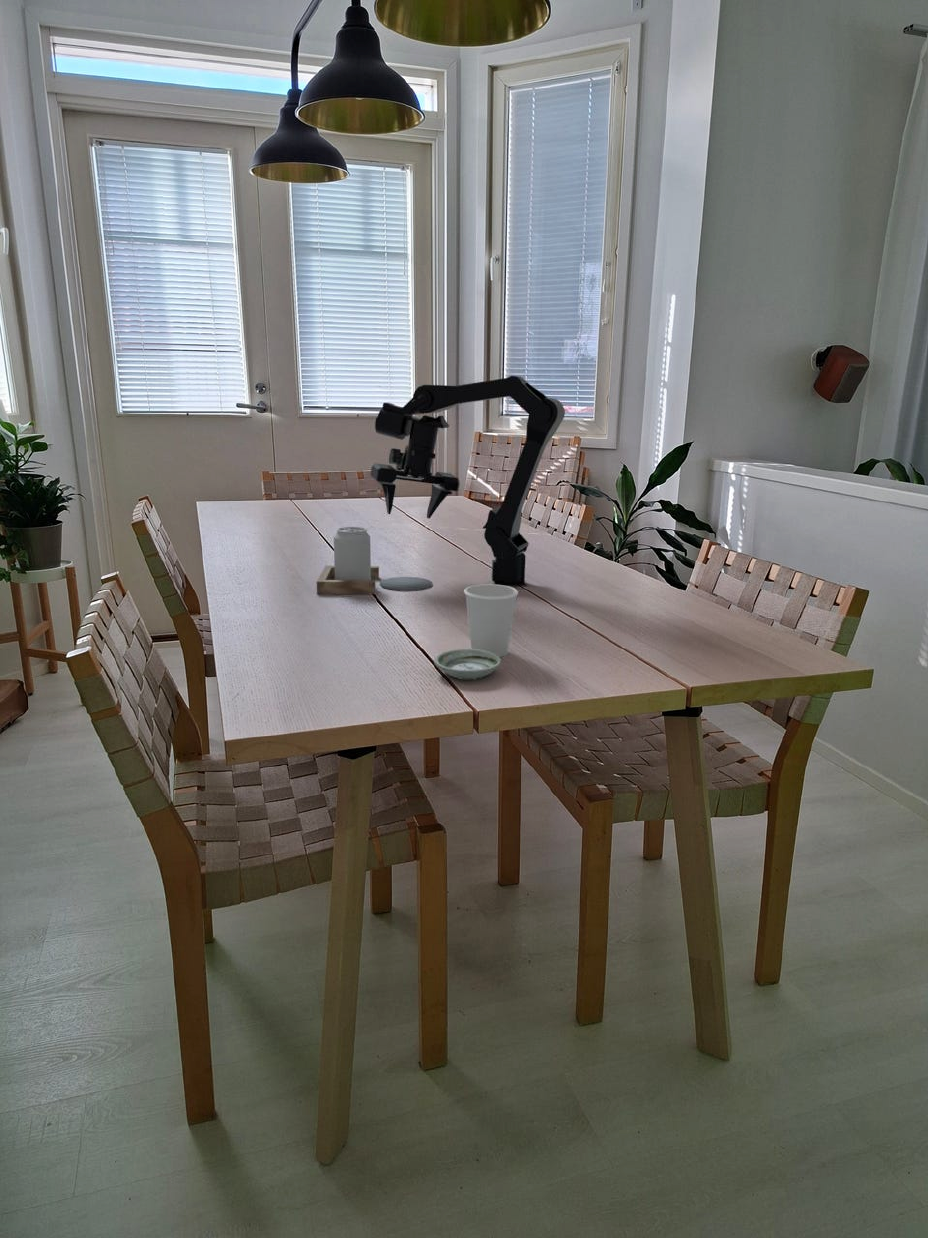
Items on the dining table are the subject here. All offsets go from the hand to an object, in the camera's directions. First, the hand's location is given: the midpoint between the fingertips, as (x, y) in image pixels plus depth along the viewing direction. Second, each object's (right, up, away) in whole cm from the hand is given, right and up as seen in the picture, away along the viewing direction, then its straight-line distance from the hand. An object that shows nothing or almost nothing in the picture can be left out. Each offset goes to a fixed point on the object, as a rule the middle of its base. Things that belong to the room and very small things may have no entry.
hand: (408, 515), depth 176 cm
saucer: (+13, -31, -59) cm, 68 cm away
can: (-11, -16, -8) cm, 21 cm away
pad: (0, -15, -7) cm, 17 cm away
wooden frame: (-11, -16, -8) cm, 21 cm away
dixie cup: (+16, -28, -49) cm, 59 cm away
